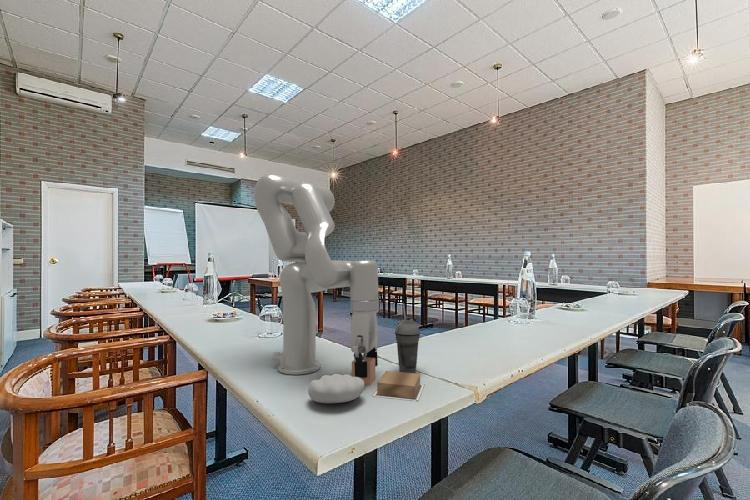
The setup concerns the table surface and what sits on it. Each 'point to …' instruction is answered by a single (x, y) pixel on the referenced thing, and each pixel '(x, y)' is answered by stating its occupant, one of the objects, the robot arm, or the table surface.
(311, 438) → the table surface
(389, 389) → the walnut slab
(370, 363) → the terracotta block
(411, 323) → the beverage cup
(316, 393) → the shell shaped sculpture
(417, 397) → the pale flat square plate
